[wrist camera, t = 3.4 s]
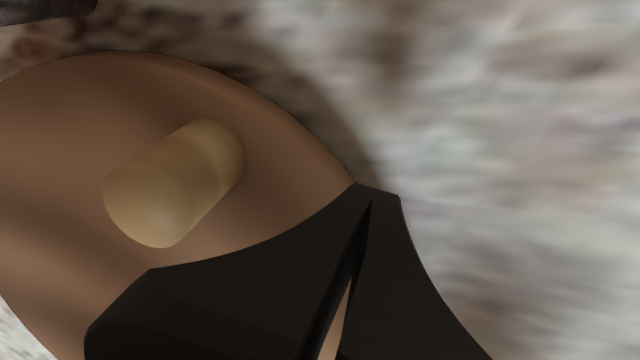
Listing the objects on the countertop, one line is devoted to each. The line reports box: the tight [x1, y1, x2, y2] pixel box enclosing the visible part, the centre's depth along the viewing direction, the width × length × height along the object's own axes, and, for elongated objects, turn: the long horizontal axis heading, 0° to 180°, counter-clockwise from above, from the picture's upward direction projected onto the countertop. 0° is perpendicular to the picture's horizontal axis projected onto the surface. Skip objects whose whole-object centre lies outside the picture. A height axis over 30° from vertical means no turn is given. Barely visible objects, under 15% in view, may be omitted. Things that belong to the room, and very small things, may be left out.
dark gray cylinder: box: [0, 0, 97, 27], centre depth 16 cm, size 17×14×4 cm
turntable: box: [0, 50, 355, 360], centre depth 17 cm, size 20×20×5 cm
